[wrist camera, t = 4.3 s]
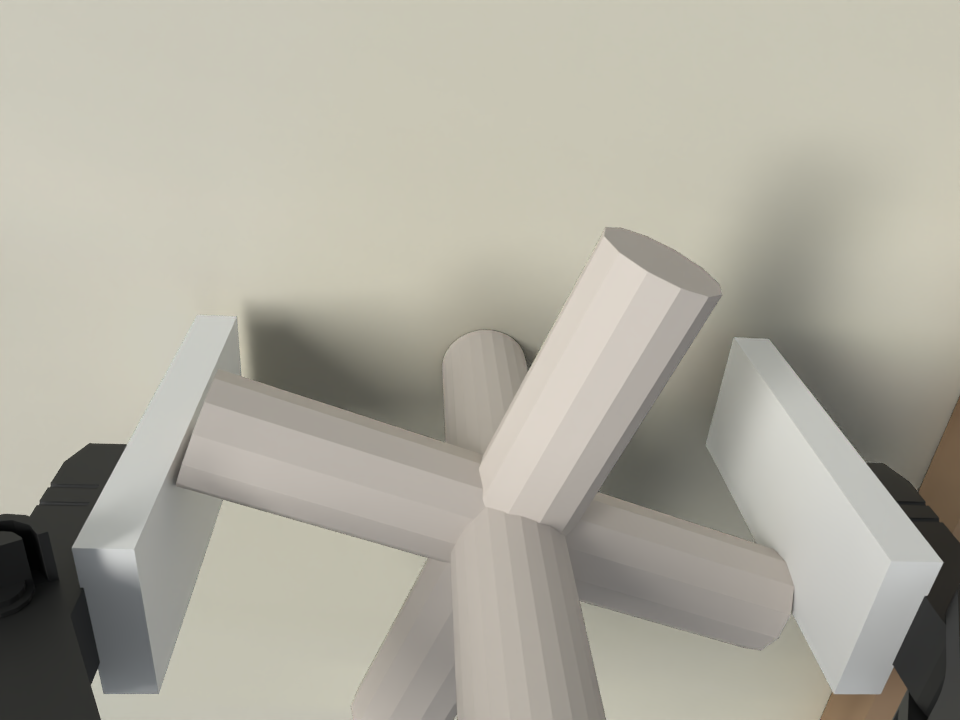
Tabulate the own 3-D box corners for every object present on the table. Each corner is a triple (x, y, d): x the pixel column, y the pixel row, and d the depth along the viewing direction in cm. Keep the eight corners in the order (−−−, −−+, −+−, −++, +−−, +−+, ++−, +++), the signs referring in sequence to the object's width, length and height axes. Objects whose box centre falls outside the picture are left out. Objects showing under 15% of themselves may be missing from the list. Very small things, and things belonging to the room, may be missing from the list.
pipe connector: (806, 250, 17) (1221, 632, 8) (582, 585, 21) (695, 1072, 12) (339, 43, 14) (207, 275, 6) (193, 472, 18) (-9, 982, 10)
